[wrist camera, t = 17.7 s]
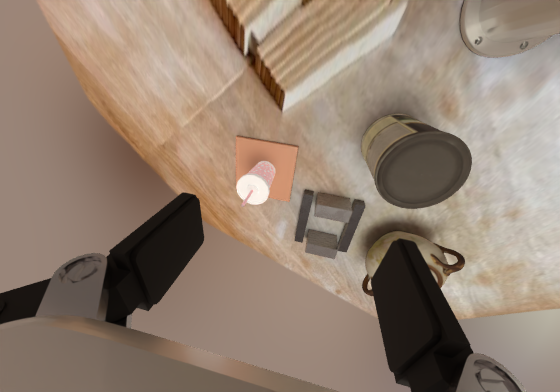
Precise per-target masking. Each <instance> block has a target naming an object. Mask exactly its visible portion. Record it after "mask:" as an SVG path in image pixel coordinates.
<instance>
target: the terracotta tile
mask: <svg viewBox="0 0 560 392" xmlns="http://www.w3.org/2000/svg"><path fill="white" fill-rule="evenodd" d="M297 153H298V146H294V145H288V144H282V143H276V142H270V141H264V140H259V139H253V138H247V137H241V136H236V186H237V182H238V180H239V179H240V178H241V177H242V176H243V175H246V174H247V173H248V172H249V171H250V170H251V169H252V168H253V167H254V166H256V165H257V164H258V163H259V162H261V161H267V162H270V163H271V164H272V165H273V166H274V168H275V176H274V178H273V181H272V184H271V186H270V189H269V190H270V192H269V195H268V198H273V199H278V200H283V201H288V202H289V201H290V195H291V189H292V183H293V177H294V171H295V165H296V159H297ZM236 191H237V188H236Z"/></svg>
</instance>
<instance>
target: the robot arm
mask: <svg viewBox="0 0 560 392" xmlns="http://www.w3.org/2000/svg"><path fill="white" fill-rule="evenodd" d="M460 26H461V33H462V37H463V40H464V42H465V43H466V45H467V47H468V48H469V49H470V50H471V51H472V52H474V53H476V54H478V55H480V56H484V57H488V58H499V57H507V56H511V55H515V54H519V53H522V52H524V51H526V50H529V49H531V48H533V47H535V46H537V45H538V44H540V43H542V42H544V41H545V40H547V39H548V38H549V37H551V36H552V35H554V34H559V33H560V0H465V1H464V4H463V7H462V12H461V18H460ZM475 40H476V43H474V42H475ZM203 241H204V234H203V225H202V217H201V209H200V201H199V199H198V198H197V197H196V195H194V194H189V193H181V194H180V195H179V196H178V197H176V198H175V199H174V200H173V201H171V202H170V203H169V204H167V206H165V207H164V208H163V209H161V210H160V211H159V212H158V213H156V214H155V215H154V216H152V217H151V218H150V219H149V220H147V221H146V222H145V223H144V224H142V225H141V226H140V227H139V228H137V229H136V230H135V231H134V232H132V233H131V234H130V235H129V236H127V237H126V238H125V239H124V240H122V241H121V242H120V243H119V244H117V245H116V246H115V247H114V248H113V249H111V250H110V251H109V252H110V254H109V255H108V256H107V257H105V256H104V255H102V254H100V253H91V254H85V255H82V256H78V257H76V258H74V259H72V260H70V261H68V262H66V263H65V264H63V265H62V266H61V267H60V268H59V269H57V270H56V272H55V273H54V275H53V276H52V278H50V279H47V280H43V281H40V282H37V283H33V284H30V285H27V286H24V287H20V288H17V289H13V290H10V291H7V292H4V293H0V392H338V391H335V390H332V389H329V388H325V387H322V386H319V385H316V384H312V383H309V382H306V381H302V380H299V379H296V378H293V377H290V376H287V375H283V374H280V373H277V372H274V371H270V370H267V369H264V368H260V367H257V366H254V365H251V364H247V363H244V362H241V361H238V360H234V359H231V358H227V357H224V356H221V355H218V354H214V353H211V352H208V351H204V350H201V349H198V348H195V347H191V346H188V345H184V344H181V343H178V342H174V341H171V340H167V339H164V338H161V337H158V336H154V335H151V334H147V333H144V332H141V331H137V330H134V329H131V320H132V313H133V311H134V310H135V309H136V308H140V309H143V310H147V311H149V310H150V308H151V307H152V306H153V305H154V304H157V303H158V302H159V301H160V300H161V299H162V297H163V296H164V294H165V293H166V292H167V291H168V289H169V288H170V287H171V285H172V284H173V283H174V281H175V280H176V279H177V277H178V276H179V275H180V273H181V272H182V270H183V269H184V268H185V266H186V265H187V264H188V262H189V261H190V259H191V258H192V257H193V256H194V254H195V253H196V252H197V250H198V249H199V248H200V246H201V245H202V244H203ZM371 286H372V291H373V296H374V300H375V305H376V310H377V314H378V319H379V324H380V328H381V333H382V338H383V342H384V347H385V351H386V356H387V361H388V365H389V369H390V371H391V372H393V373H394V376H395V380H396V383H398V384H401V385H404V386H408V387H410V388H411V392H527V391H526V390H525V388H524V387H523V385H522V384H521V383H520V382H519V381H518V380H517V378H516V377H515V376H514V375H513V374H512V373H511V372H510V371H509V370H507V369H506V368H505V367H504V366H503V365H501V364H500V363H499V362H497V361H495V360H494V359H492V358H490V357H488V356H486V355H484V354H479V353H473V351H472V349H471V347H470V343H469V341H468V339H467V338H466V336H465V334H464V332H463V330H462V328H461V326H460V325H459V323H458V321H457V319H456V317H455V315H454V313H453V311H452V310H451V308H450V306H449V304H448V302H447V300H446V298H445V297H444V295H443V293H442V291H441V289H440V287H439V285H438V284H437V282H436V280H435V278H434V276H433V274H432V272H431V270H430V269H429V267H428V265H427V263H426V261H425V259H424V257H423V256H422V254H421V252H420V250H419V248H418V246H417V244H416V243H415V242H414V241H411V240H406V239H401V238H399V239H397V241H393V242H392V243H391V245H390V247H389V249H388V250H387V252H386V254H385V256H384V257H383V259H382V261H381V263H380V265H379V266H378V268H377V270H376V272H375V273H374V275H373V277H372V280H371Z"/></svg>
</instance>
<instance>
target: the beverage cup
mask: <svg viewBox="0 0 560 392" xmlns="http://www.w3.org/2000/svg"><path fill="white" fill-rule="evenodd" d="M274 176H275V168H274V166H273V165H272V164H271V163H270V162H267V161H261V162H259V163H258V164H257V165H256V166H254V167H253V168H252V169H251V170H250V171H249V172H248V173H247V174H246V175H243V176H242V177H241V178H240V179H239V180H238V182H237V186H236V188H237V193H238V194H239V196H240V198H242V199H243V200H244V201H243V203H242V204H241V206H242V207H244V205H245V204H246V202H247V203H250V204H256V205H258V204H261V203H263V202H264V201H266V200H267V198H268V195H269V192H270V190H269V189H270V186H271V184H272V181H273V178H274Z"/></svg>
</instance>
